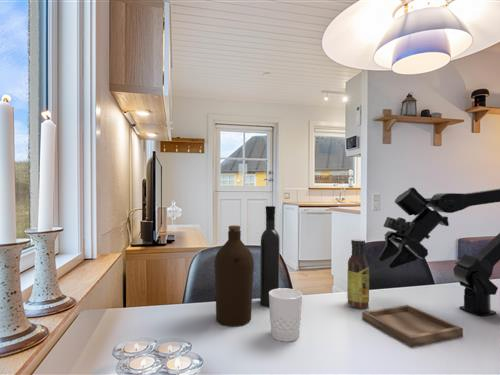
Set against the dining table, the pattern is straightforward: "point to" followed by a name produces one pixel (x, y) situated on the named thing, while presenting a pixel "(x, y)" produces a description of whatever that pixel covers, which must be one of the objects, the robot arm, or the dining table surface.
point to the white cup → (285, 314)
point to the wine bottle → (269, 258)
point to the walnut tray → (412, 325)
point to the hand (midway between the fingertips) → (384, 263)
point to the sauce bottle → (358, 276)
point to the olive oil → (233, 281)
